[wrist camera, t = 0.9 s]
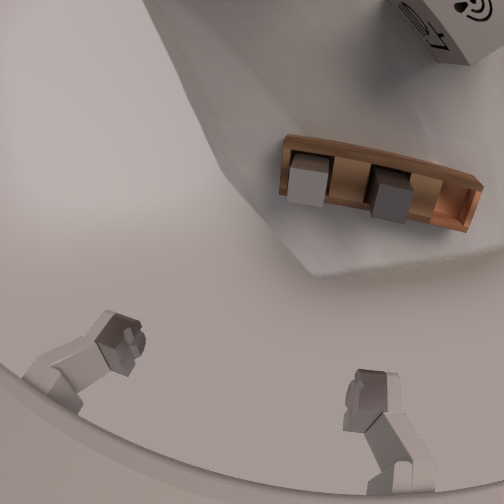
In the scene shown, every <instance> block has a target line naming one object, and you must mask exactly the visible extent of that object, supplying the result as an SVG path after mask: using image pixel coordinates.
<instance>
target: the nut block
mask: <svg viewBox="0 0 504 504" xmlns="http://www.w3.org/2000/svg"><path fill="white" fill-rule="evenodd" d="M328 172H329V155H324V154H318V153H312V152H305V151H298V150H297V152H296V154H295V157H294V159H293V162H292V164H291V166H290V173H289V183H288V193H287V202H292V203H299V204H304V205H310V206H316V207H322V208H323V203H324V198H325V192H326V185H327V179H328Z"/></svg>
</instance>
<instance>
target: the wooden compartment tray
mask: <svg viewBox="0 0 504 504" xmlns="http://www.w3.org/2000/svg"><path fill="white" fill-rule="evenodd" d="M297 150H298V151H305V152H312V153H318V154H324V155H329V172H328V179H327V185H326V192H325V198H324V202H326V203H332V204H337V205H342V206H348V207H353V208H358V209H363V210H368V211H370V206H369V201H368V196H367V187H368V182H369V178H370V173H371V168H372V164H376V165H381V166H386V167H390V168H394V169H399V170H403V171H404V173H405V175H406V177H407V178H408V180H409V182H410V184H411V186H412V188H413V190H414V195H413V199H412V202H411V205H410V209H409V212H408V215H407V218H406V219H411V220H415V221H420V222H424V223H428V224H432V225H437V226H441V227H445V228H449V229H453V230H457V231H461V232H465V233H467V230H468V228H469V225H470V223H471V220H472V218H473V215H474V213H475V210H476V207H477V204H478V202H479V199H480V196H481V193H482V190H483V187H484V186H483V185H482V184H481V183H480V182H479V181H478V180H477V179H476V178H475V177H474V176H472V175H469V174H466V173H463V172H460V171H457V170H453V169H450V168H447V167H443V166H440V165H436V164H433V163H429V162H426V161H422V160H418V159H414V158H410V157H406V156H402V155H398V154H394V153H390V152H385V151H381V150H376V149H372V148H367V147H362V146H357V145H352V144H346V143H341V142H335V141H330V140H324V139H317V138H311V137H304V136H297V135H290V134H288V135H287V136H286V138H285V140H284V141H283V154H282V165H281V177H280V188H279V195H284V196H287V193H288V183H289V173H290V166H291V164H292V162H293V159H294V157H295V154H296V152H297Z"/></svg>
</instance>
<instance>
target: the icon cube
mask: <svg viewBox="0 0 504 504" xmlns="http://www.w3.org/2000/svg"><path fill="white" fill-rule="evenodd" d="M388 1H389V2H390V3H391V4H392V5H393V6H394V8H395V9H396V10H397V11H398V12H399V13H400V14H401V16H402V17H403V18H404V19H405V20H406V21H407V23H408V24H409V25H410V26H411V27H412V29H413V30H414V31H415V32H416V34H417V35H418V36H419V37H420V39H421V40H422V41H423V43H424V44H425V45H426V47H427V48H428V49H429V51H430V52H431V54H432V55H433V56H434V58H435V59H436V61H437V62H438V63H447V64H459V65H468V66H471V65H472V64H474V63H476V62H477V61H479V60H480V59H482V58H483V57H485V56H487V55H488V54H490V53H491V52H493V51H495V50H496V49H498V48H499V47H501V46H503V45H504V0H388Z"/></svg>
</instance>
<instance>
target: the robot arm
mask: <svg viewBox="0 0 504 504" xmlns="http://www.w3.org/2000/svg"><path fill="white" fill-rule="evenodd" d="M141 327H142V326H141V323H140V321H138V320H135V319H132V318H129V317H126V316H124V315H121V314H118V313H115V312H112V311H109V310H106V311H104V312H103V313H102V314H101V316H100V317H99V318H98V319H97V321H96V322H95V323H94V325H93V326H92V327H91V328H90V330H89V331H88V332H87V334H86V335H85V336H84V337H82V336H81V337H79V338H76V339H74V340H72V341H71V342H68V343H66V344H64V345H62V346H60V347H57V348H55V349H53V350H51V351H49V352H47V353H45V354H42V355H40V356H38V357H37V358H36V359H35V361H34V362H33V363H32V365H31V366H30V367H29V369H28V370H27V371H26V373H25V374H24V376H23V377H22V378H19V377H18V376H17V375H15V374H14V373H13V372H11V371H10V370H9V369H7V368H6V367H5V366H4V365H2V364H1V363H0V504H504V480H503V481H498V482H494V483H490V484H486V485H480V486H475V487H470V488H464V489H458V490H451V491H443V492H435V458H434V457H433V455H432V454H431V452H430V451H429V449H428V448H427V446H426V445H425V443H424V441H423V440H422V438H421V437H420V435H419V434H418V433H417V431H416V429H415V428H414V426H413V425H412V423H411V422H410V420H409V419H408V418H407V416H406V414H405V413H401V390H400V376H399V374H398V373H387V372H383V371H373V370H364V369H358V370H357V371H356V373H355V379H354V380H352V381H351V382H350V384H349V387H348V390H347V394H346V401H345V405H346V407H347V408H348V410H347V412H346V413H345V414H344V422H343V431H350V432H358V433H365V434H364V435H365V437H366V440H367V442H368V444H369V446H370V448H371V450H372V452H373V454H374V457H375V459H376V461H377V463H378V465H379V467H380V469H381V472H382V473H380V474H379V475H377V476H375V477H374V478H372V479H371V480H370V481H368V486H367V494H366V495H347V494H332V493H321V492H311V491H303V490H296V489H290V488H283V487H277V486H271V485H267V484H262V483H257V482H252V481H247V480H243V479H239V478H235V477H231V476H227V475H223V474H219V473H216V472H213V471H209V470H206V469H202V468H199V467H196V466H193V465H190V464H187V463H184V462H181V461H178V460H175V459H173V458H170V457H167V456H164V455H162V454H159V453H156V452H154V451H151V450H149V449H146V448H144V447H142V446H139V445H137V444H135V443H133V442H130V441H128V440H126V439H124V438H122V437H119V436H117V435H115V434H113V433H111V432H109V431H107V430H105V429H103V428H101V427H99V426H97V425H95V424H93V423H91V422H89V421H88V420H86V419H84V418H82V417H80V416H79V415H78V413H79V411H80V409H81V408H82V406H83V401H82V400H81V398H80V397H79V396H78V395H77V393H78V392H80V391H82V390H83V389H85V388H86V387H88V386H89V385H91V384H92V383H94V382H95V381H97V380H99V379H100V378H102V377H103V376H105V375H106V374H108V373H109V372H111V371H114V372H116V373H119V374H122V375H125V376H127V377H128V376H129V374H130V373H131V371H132V369H133V368H134V366H135V359H136V358H138V357H140V356H141V354H142V353H143V351H144V348H145V344H146V342H145V341H146V338H145V335H144V333H143V332H142V331H141V330H140V329H141ZM110 370H111V371H110Z"/></svg>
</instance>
